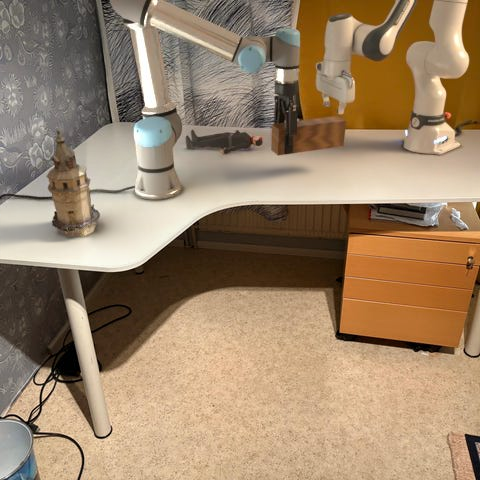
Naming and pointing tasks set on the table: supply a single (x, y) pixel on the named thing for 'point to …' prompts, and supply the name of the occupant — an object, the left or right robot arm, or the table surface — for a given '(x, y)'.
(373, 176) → the table surface
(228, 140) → the toy
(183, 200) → the table surface
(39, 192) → the table surface
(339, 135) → the bar
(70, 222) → the miniature building
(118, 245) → the table surface
